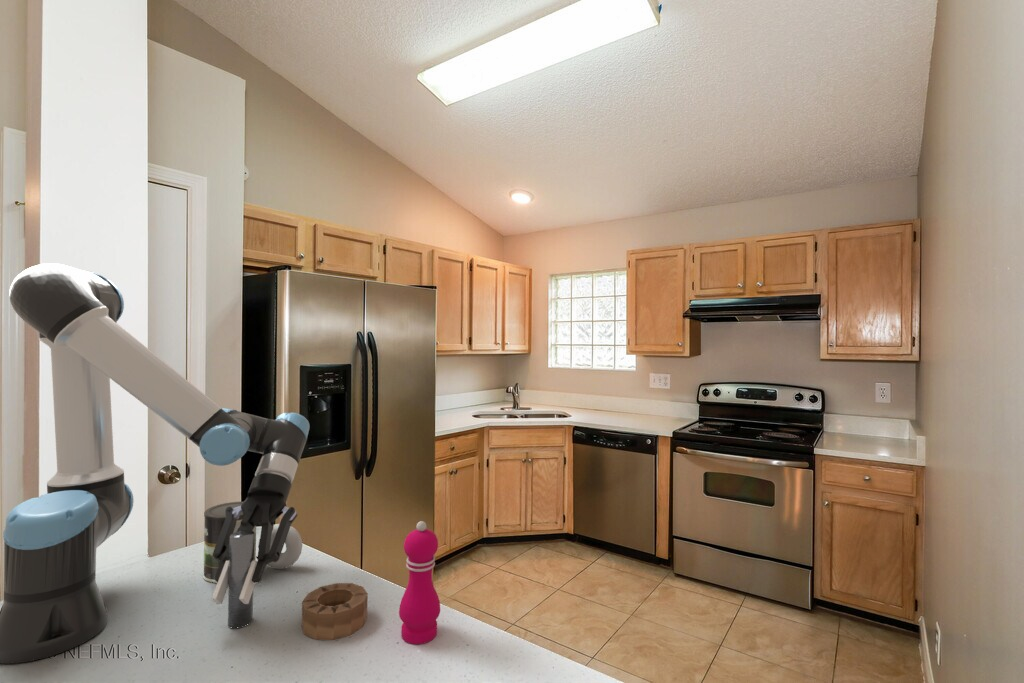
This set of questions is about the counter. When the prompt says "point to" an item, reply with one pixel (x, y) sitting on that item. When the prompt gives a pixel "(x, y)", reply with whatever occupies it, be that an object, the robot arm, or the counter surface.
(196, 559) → the counter surface
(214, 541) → the coffee can
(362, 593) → the bead
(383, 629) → the counter surface
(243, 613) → the metal cylinder peg
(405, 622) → the pepper mill
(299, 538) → the donut
